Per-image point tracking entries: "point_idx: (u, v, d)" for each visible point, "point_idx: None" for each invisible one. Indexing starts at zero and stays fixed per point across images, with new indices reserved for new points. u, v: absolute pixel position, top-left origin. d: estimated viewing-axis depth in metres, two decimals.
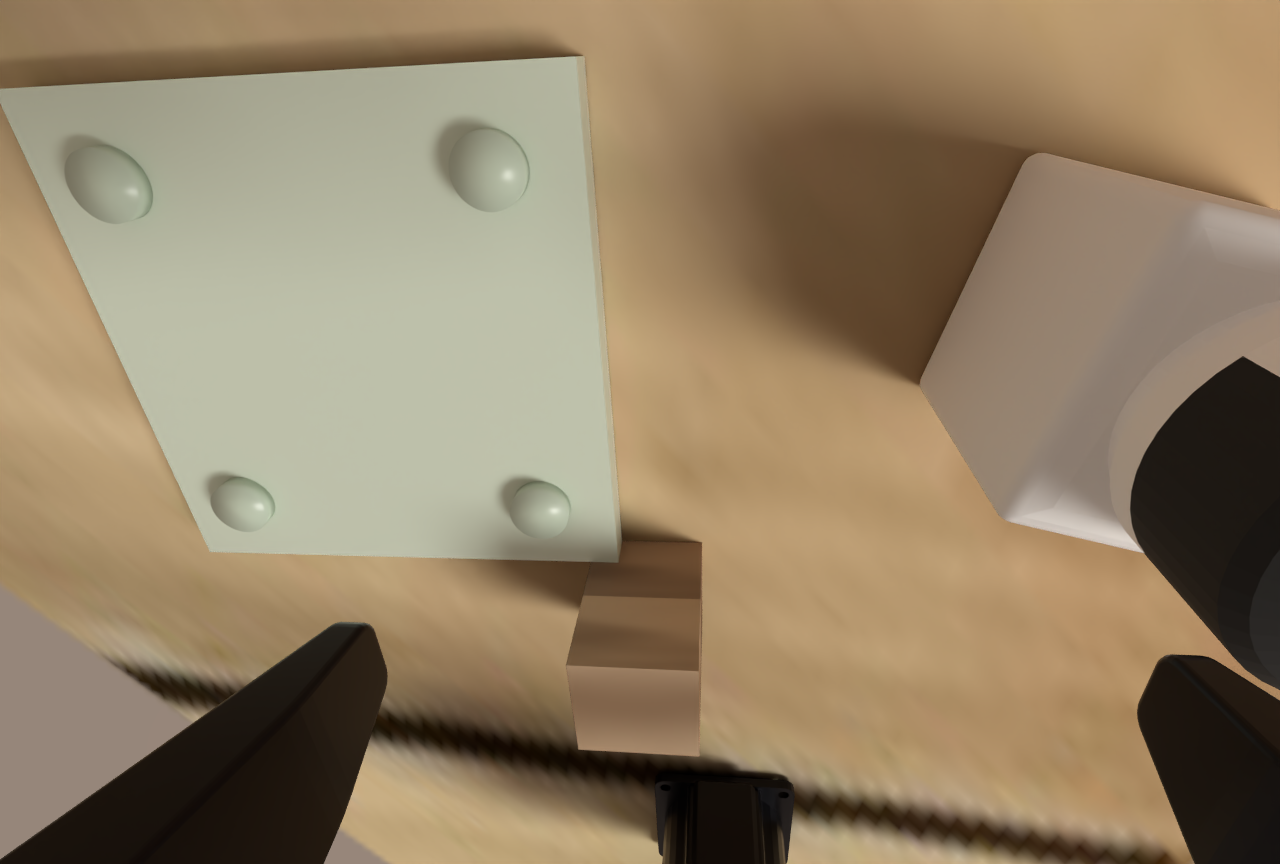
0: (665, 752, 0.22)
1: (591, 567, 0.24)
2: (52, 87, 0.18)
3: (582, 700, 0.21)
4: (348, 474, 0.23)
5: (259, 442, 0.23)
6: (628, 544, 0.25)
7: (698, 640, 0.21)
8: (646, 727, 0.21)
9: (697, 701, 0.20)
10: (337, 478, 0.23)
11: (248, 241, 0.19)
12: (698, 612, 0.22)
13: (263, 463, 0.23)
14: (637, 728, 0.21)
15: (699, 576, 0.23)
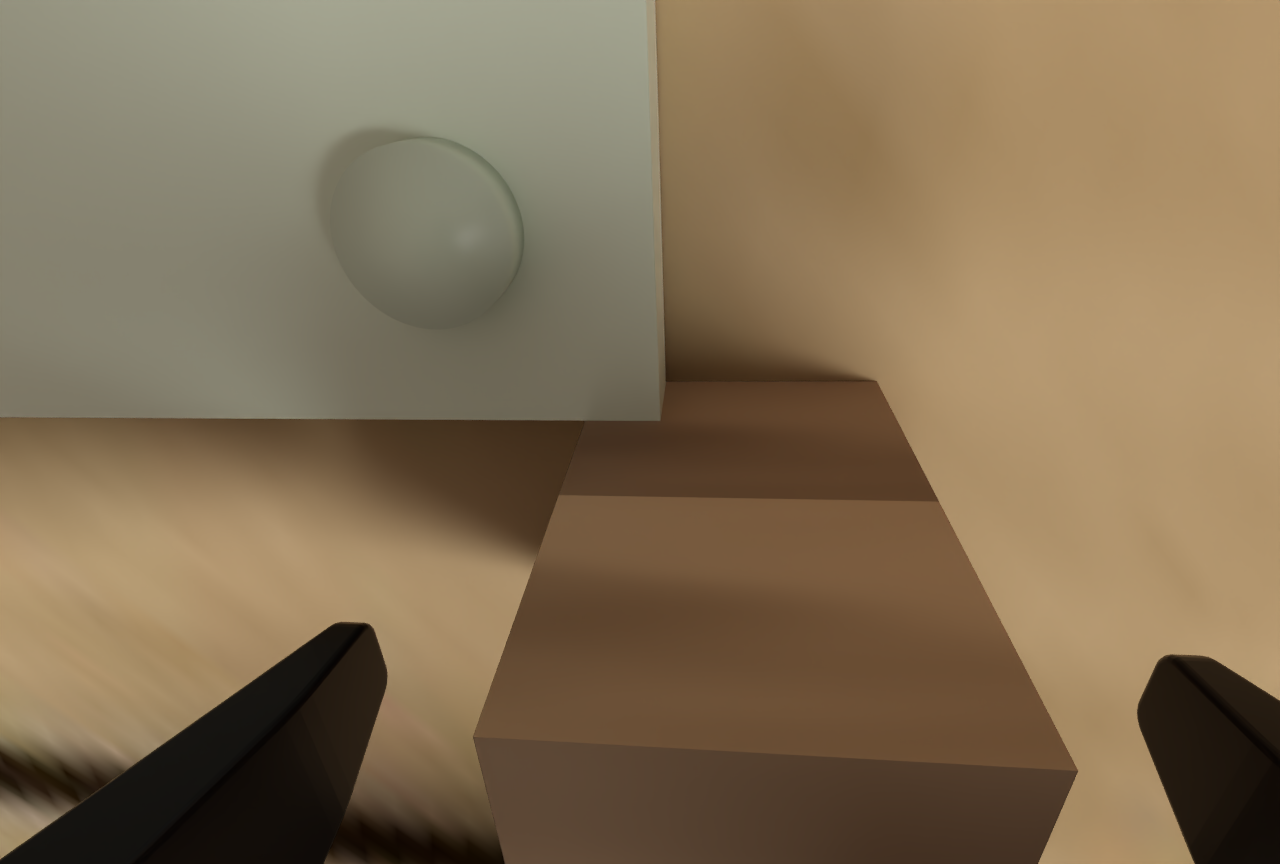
0: None
1: (586, 431, 0.09)
2: None
3: (549, 863, 0.05)
4: None
5: None
6: (681, 386, 0.10)
7: (1000, 632, 0.05)
8: None
9: None
10: None
11: None
12: (951, 538, 0.06)
13: None
14: None
15: (905, 447, 0.08)
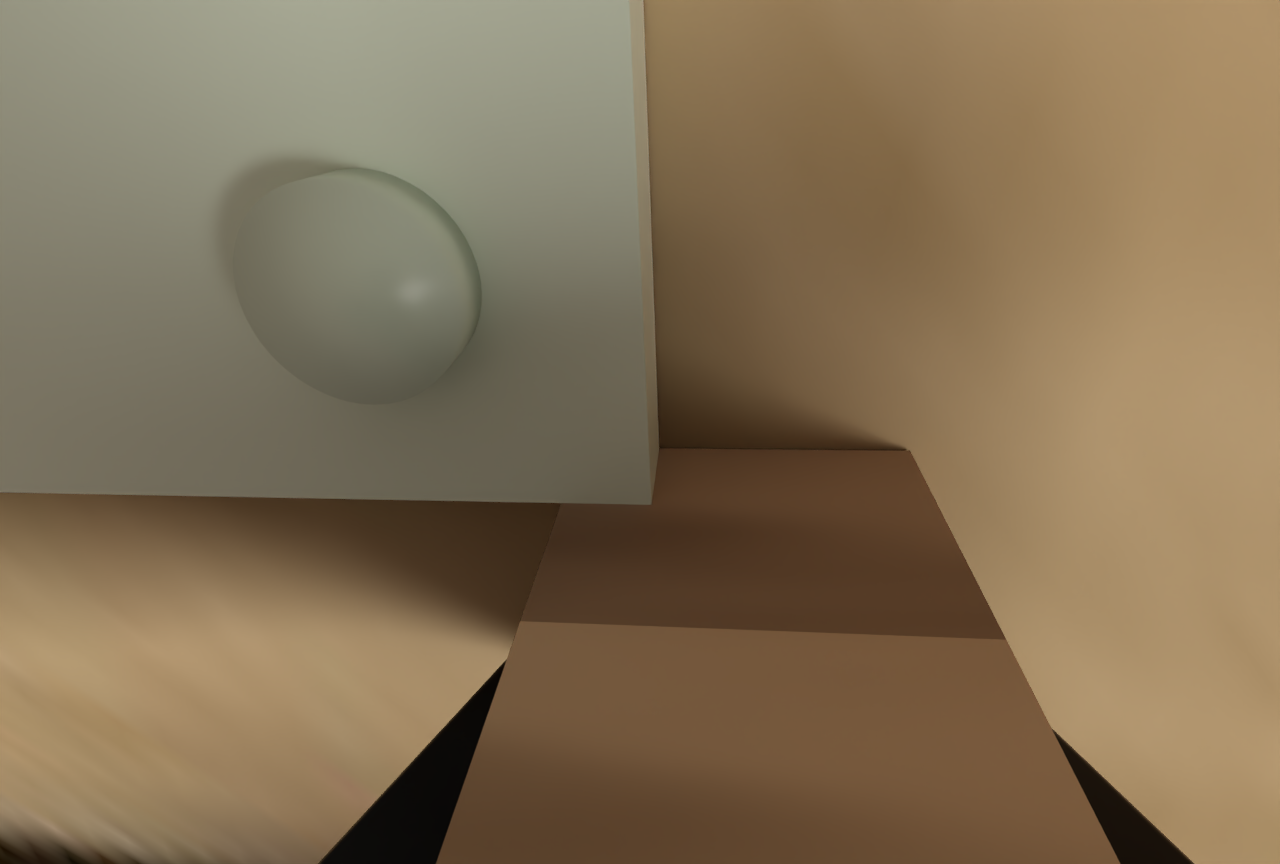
0: None
1: (560, 522, 0.07)
2: None
3: None
4: None
5: None
6: (678, 457, 0.08)
7: None
8: None
9: None
10: None
11: None
12: (1030, 703, 0.05)
13: None
14: None
15: (954, 550, 0.06)
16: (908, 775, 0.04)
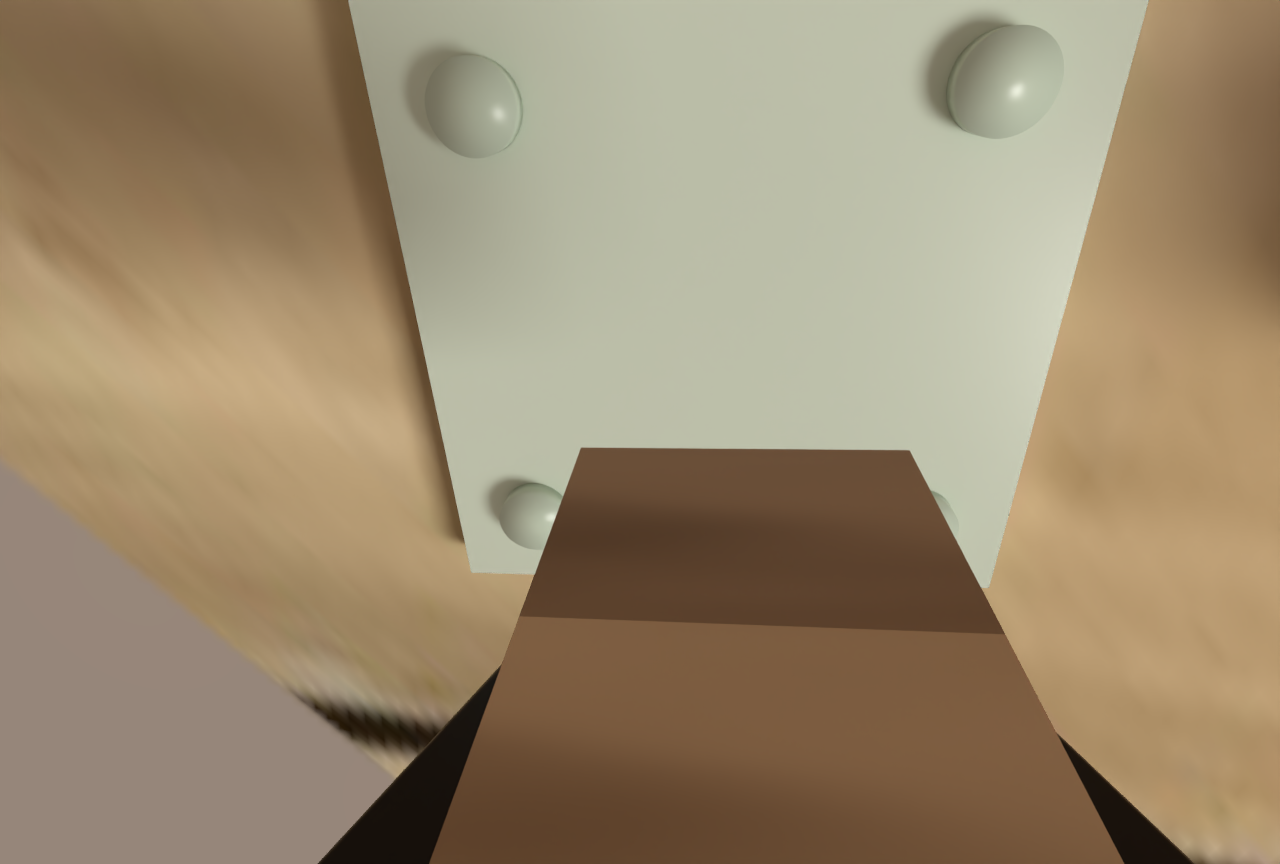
0: None
1: (560, 519, 0.07)
2: None
3: None
4: None
5: (572, 440, 0.19)
6: (677, 456, 0.08)
7: None
8: None
9: None
10: None
11: (632, 183, 0.15)
12: (1029, 696, 0.05)
13: (570, 466, 0.19)
14: None
15: (953, 547, 0.06)
16: (906, 766, 0.04)
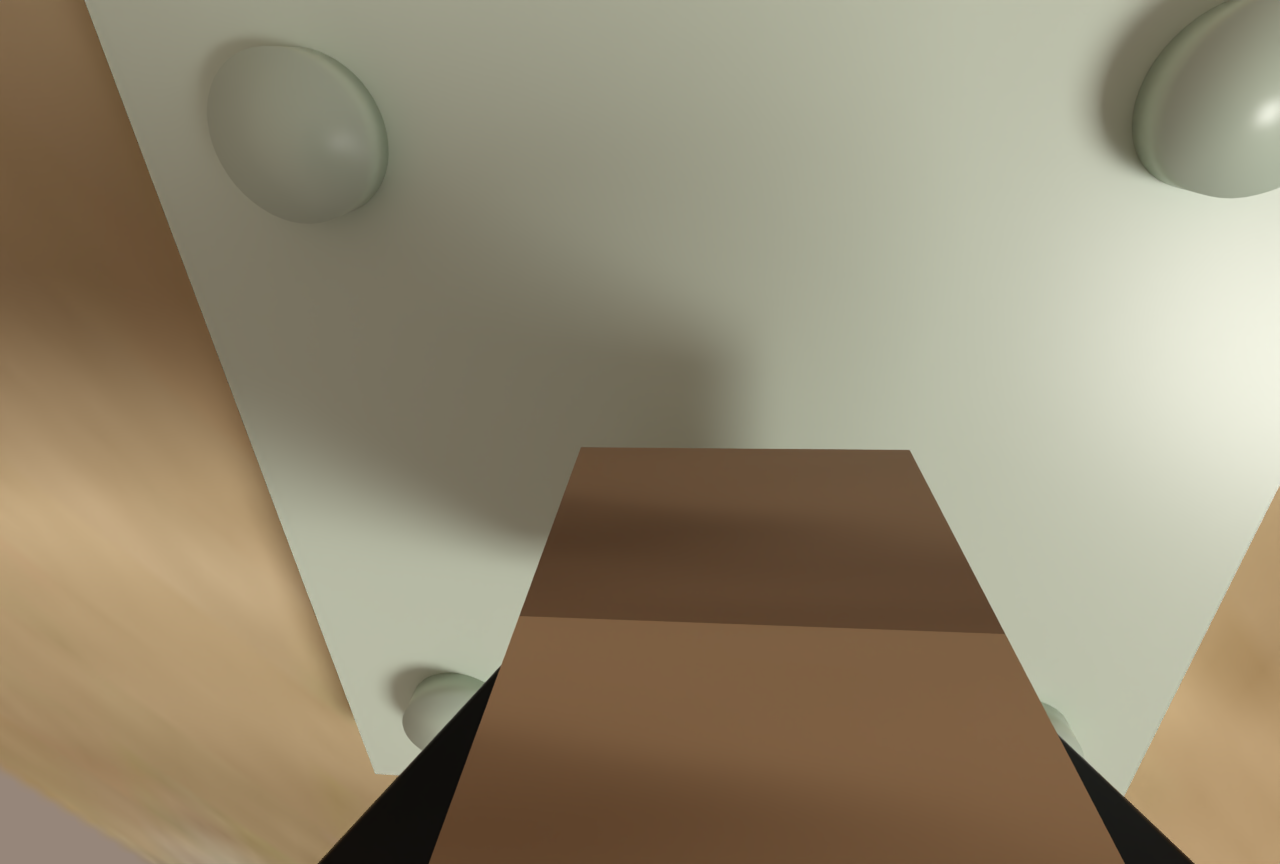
0: None
1: (560, 519, 0.07)
2: None
3: None
4: None
5: (504, 622, 0.13)
6: (677, 456, 0.08)
7: None
8: None
9: None
10: None
11: (579, 262, 0.09)
12: (1029, 696, 0.05)
13: (502, 654, 0.13)
14: None
15: (953, 547, 0.06)
16: (906, 766, 0.04)
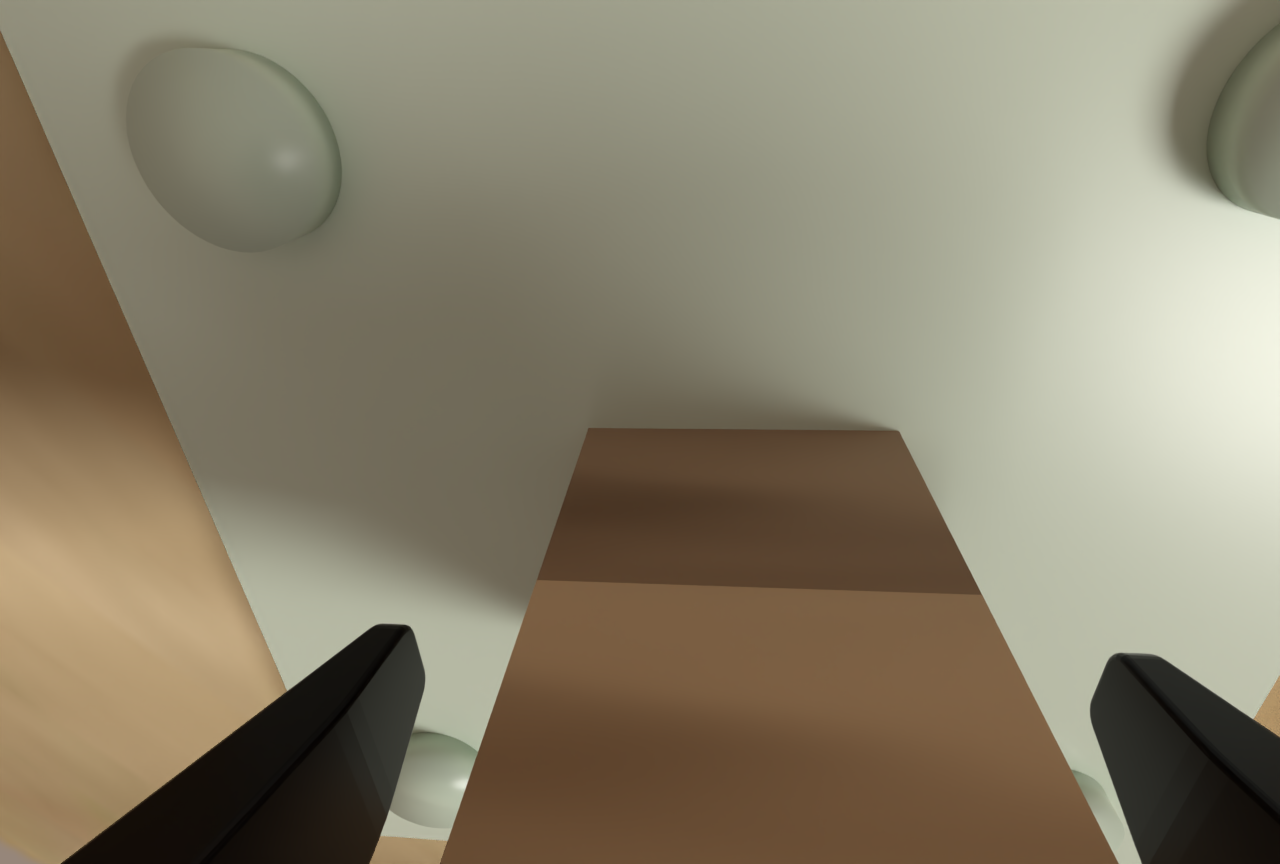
0: None
1: (571, 494, 0.07)
2: None
3: None
4: None
5: (485, 680, 0.11)
6: (681, 437, 0.09)
7: (1073, 789, 0.04)
8: None
9: None
10: None
11: (562, 294, 0.08)
12: (1001, 647, 0.05)
13: (483, 713, 0.12)
14: None
15: (937, 518, 0.07)
16: (890, 707, 0.05)
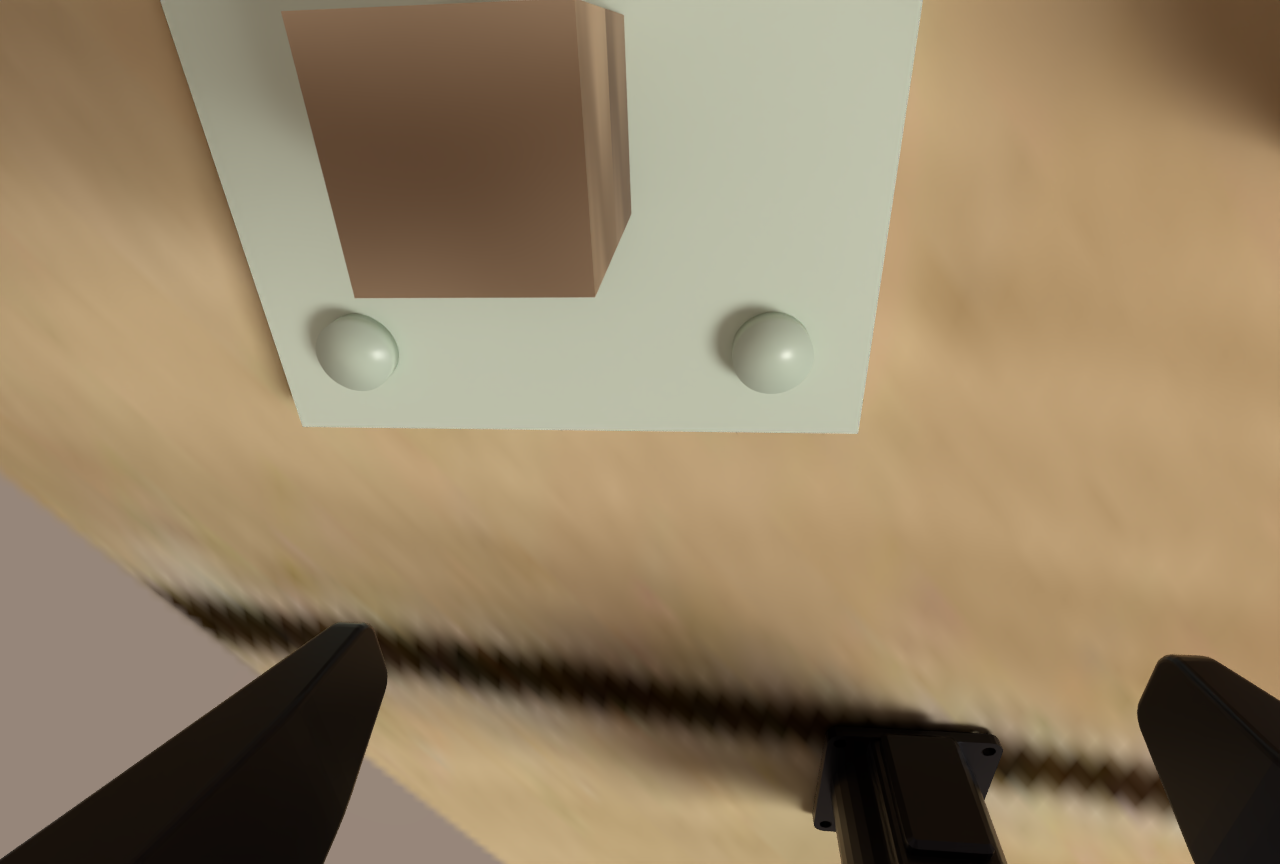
0: (526, 291, 0.11)
1: None
2: None
3: (337, 135, 0.10)
4: (507, 306, 0.17)
5: None
6: None
7: None
8: (481, 215, 0.10)
9: (579, 112, 0.09)
10: (490, 312, 0.17)
11: None
12: None
13: None
14: (462, 219, 0.10)
15: None
16: None
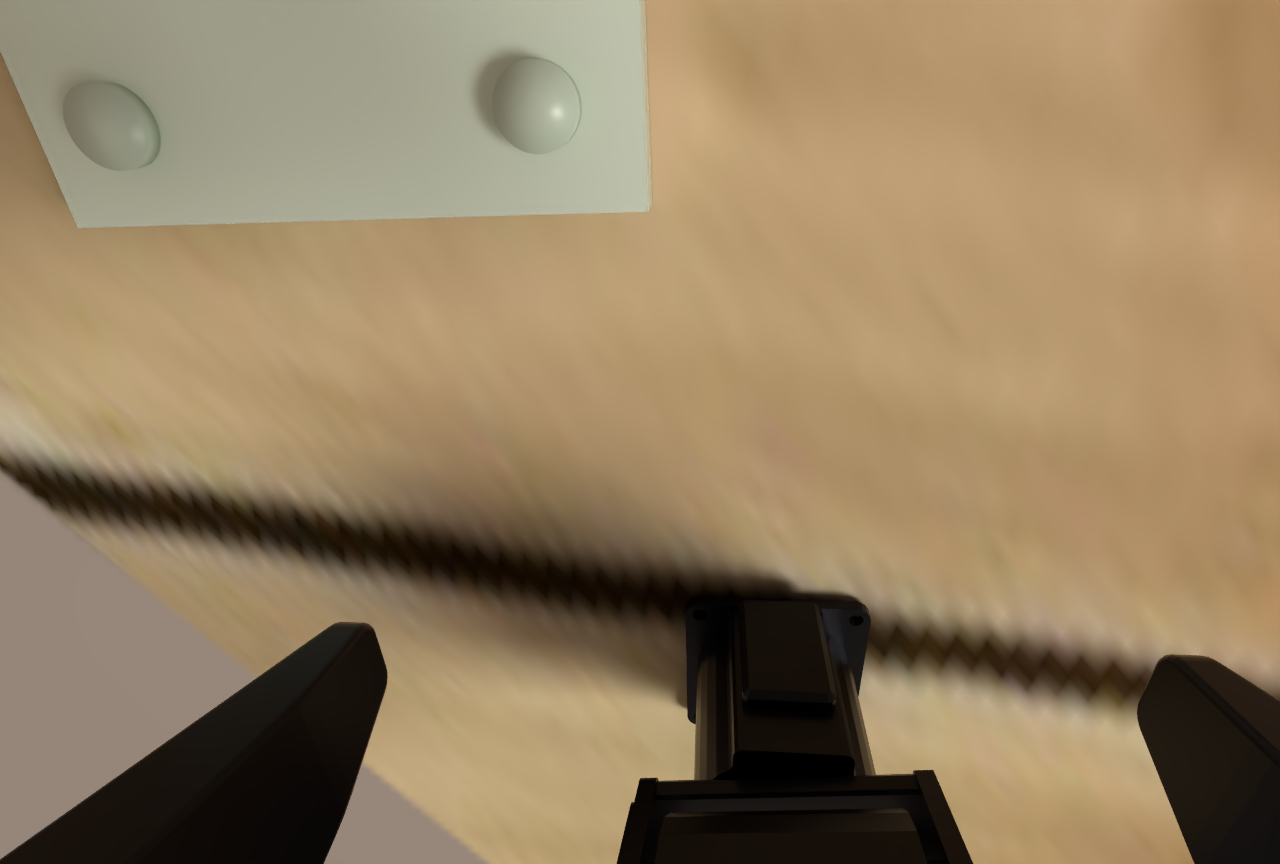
0: None
1: None
2: None
3: None
4: (259, 65, 0.16)
5: (128, 10, 0.16)
6: None
7: None
8: None
9: None
10: (244, 74, 0.16)
11: None
12: None
13: (137, 51, 0.16)
14: None
15: None
16: None
